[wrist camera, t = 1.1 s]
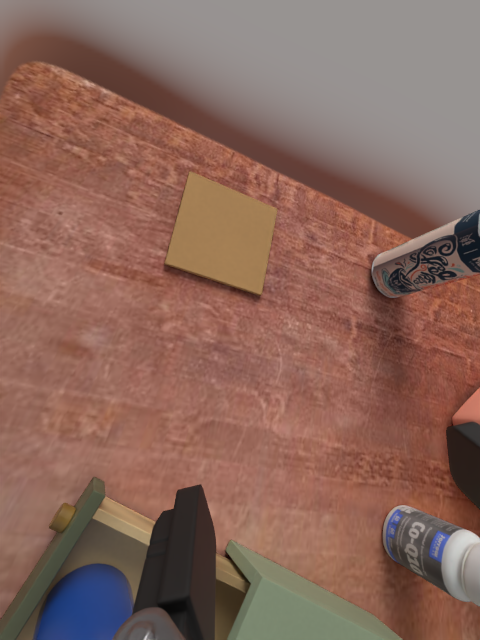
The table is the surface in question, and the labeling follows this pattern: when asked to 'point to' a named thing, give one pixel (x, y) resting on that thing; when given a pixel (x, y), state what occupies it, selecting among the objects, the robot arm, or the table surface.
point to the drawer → (107, 560)
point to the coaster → (222, 235)
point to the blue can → (86, 605)
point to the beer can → (430, 259)
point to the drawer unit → (295, 606)
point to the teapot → (468, 410)
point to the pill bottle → (435, 551)
